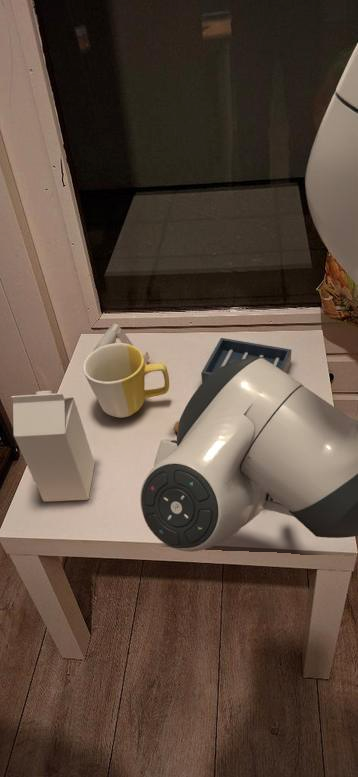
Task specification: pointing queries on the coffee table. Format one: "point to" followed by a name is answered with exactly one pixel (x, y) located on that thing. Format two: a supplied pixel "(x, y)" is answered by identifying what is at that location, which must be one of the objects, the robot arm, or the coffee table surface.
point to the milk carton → (53, 445)
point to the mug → (121, 378)
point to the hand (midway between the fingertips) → (253, 473)
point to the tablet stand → (111, 337)
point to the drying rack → (245, 355)
